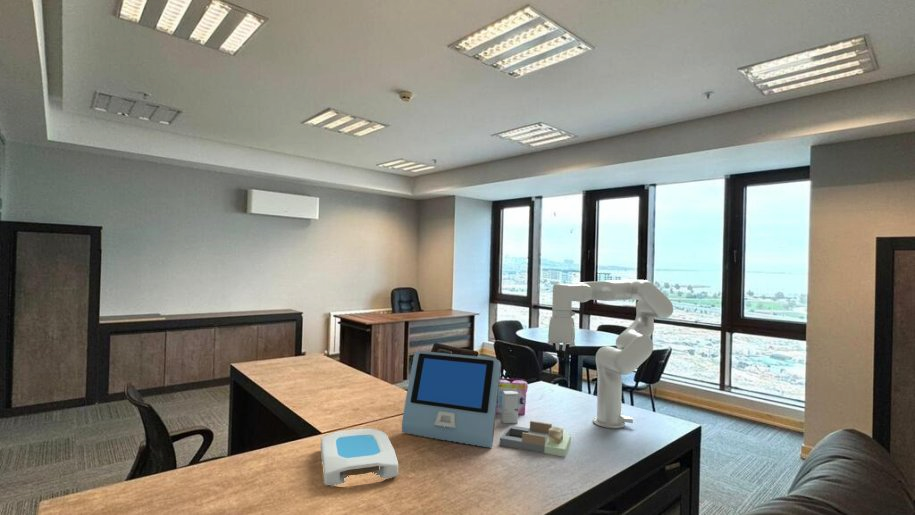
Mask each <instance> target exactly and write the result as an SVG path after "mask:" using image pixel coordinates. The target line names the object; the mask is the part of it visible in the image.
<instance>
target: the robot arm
mask: <svg viewBox="0 0 915 515" xmlns="http://www.w3.org/2000/svg"><path fill="white" fill-rule="evenodd" d="M590 300H591V301H592V300H593V301H594V300H595V301H601V302H603V301H604V302H615V301H632V300H633V301H634V300H635V301H637V302H636V304H635V310H636V316H635V320H634V321H633V322H632V323H631V324H630V325H629V326H628V327H627V328H626V329H625V330H623V331H622V332H621V333H620V334H619V335H618V336H617V338H616V339H615V346H616V347H613V346H610V345H603V346H602V347H600V348H599V349H598V350H597V352H596V354H595V364H596V372H597V384H596V385H597V394H596V396H597V397H596V399H597V400H596V416H594V417H593V418H592V422H593V424H595V425H597V426H600V427H602V428H607V429H622V428H625V427H626V423H629V424H634V417H630V416H626V415H624V414H623V412H622V390H623V389H622V388H623V387H622V386H623V385H622V384H623V383H622V382H623V381H622V380H623V379H622V376H628V375H630V374H632V373H633V372H634V371H635V370H636V369H637V368H639V367H640V366H641V365H642V364H643V363H644V362H645V361H647V359H649V357H650V356H651V355H652V353H653V349H654V343H653V339H652V338H651V336H652V334H653V333H654V328H655V322H654V321H655V320H654V318H655V319H661V320H662V319H663V320H665V319H668V318H670V317H671V316H672V315H673V313H674V305H673V302H672V301H671V300H670V299H669V298H668V297H667V296H666V295H665V294H664V292H662V291H661V290H660V289H659V288H658V287H657V286H656V285H655V284H653V283H652V282H651V281H649V280H647V279H645V280H644V279H622V280H621V279H617V280H616V279H615V280H599V281H583V282H581V281H579V282H569V283H554V284H553V285H552V312H551V313H552V314H551V315H552V316H550V319H549V324H548V331H547V332H548V334H547V338H548V339H547V344H548V345H550V346H553V347H554V348H555V350H556V358H557V360H558V361H561V362H563V361H564V359H566V350H567V349H568V348H571V347H572V348H573V347H575V346H576V342H575V341H576V330H575V329H576V328H575V320H574V317H573V316H576V312H575V311H573V310H572V305H573V303H572V302H577V303H586V302H588V301H590ZM561 344H562V346H561ZM561 347H562V348H561Z"/></svg>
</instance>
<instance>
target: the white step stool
mask: <svg viewBox="0 0 915 515" xmlns="http://www.w3.org/2000/svg"><path fill="white" fill-rule="evenodd" d="M396 454H397V453H396V451H395V448H394V446H393V445H392V443H391V441H390V438H389V436H388V434H386V433H385V432H384V431H382V430H380V429H374V428H370V427H369V428H356V429H355V428H354V429H348V430H337V431H335V432H332V433H329V434H327V435H324V436H321V437H320V460H321V459H322V462H323V465H324V476H323V475H322V478H324V479H323V485H325V486H327V485H335V484H336V485H337V484H341V483H344V482H345V481H344V478H346V477H347V476H348V474H341V473H342V472H345V471H348V470H355V469H356V470H358V469H364V468H365V469H366V468H372V467H378V466H380V470H378V469H376V470H377V471H376V470H372V471H373V472H374V474H375V473H377V474H376V475H380V477H381V478H382V477H383V478H390V479H392V477H393V478H394V477H397V476H398V474H399V461H398V459H397V455H396ZM322 462H321V463H322ZM373 472H372V473H373ZM340 474H341V475H340ZM348 477H349V476H348Z"/></svg>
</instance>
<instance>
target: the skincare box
mask: <svg viewBox="0 0 915 515" xmlns="http://www.w3.org/2000/svg"><path fill="white" fill-rule="evenodd" d="M518 400H519V394H518V393H517V392H516V391H503V396H502V413H501V422H502V423H503V424H518V420H519V414H518Z"/></svg>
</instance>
